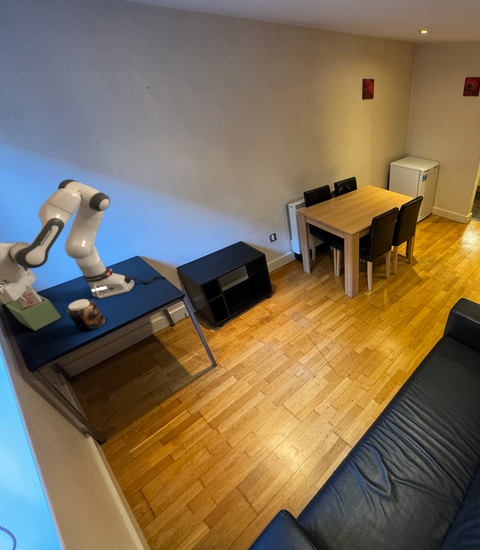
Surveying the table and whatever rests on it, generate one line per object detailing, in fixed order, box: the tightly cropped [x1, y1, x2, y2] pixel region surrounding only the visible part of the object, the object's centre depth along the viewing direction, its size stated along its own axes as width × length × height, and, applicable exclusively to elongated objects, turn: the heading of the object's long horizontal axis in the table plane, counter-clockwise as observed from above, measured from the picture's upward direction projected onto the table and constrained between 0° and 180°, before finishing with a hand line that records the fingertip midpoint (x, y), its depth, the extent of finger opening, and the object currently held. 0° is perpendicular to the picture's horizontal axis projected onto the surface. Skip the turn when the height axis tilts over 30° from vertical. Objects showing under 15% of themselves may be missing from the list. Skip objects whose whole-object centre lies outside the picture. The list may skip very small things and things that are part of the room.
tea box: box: [5, 294, 62, 332], centre depth 163 cm, size 16×12×13 cm
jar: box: [66, 298, 106, 333], centre depth 159 cm, size 12×12×15 cm
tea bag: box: [16, 286, 42, 309], centre depth 146 cm, size 4×7×10 cm, turn 130°
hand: (28, 298), depth 147 cm, fingers closed on tea bag, 4 cm apart
